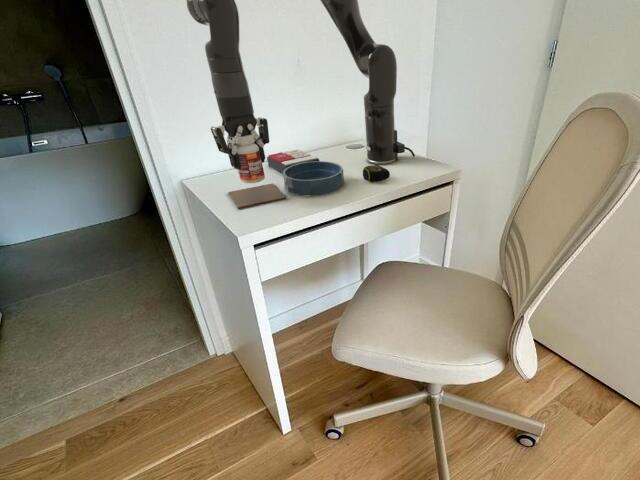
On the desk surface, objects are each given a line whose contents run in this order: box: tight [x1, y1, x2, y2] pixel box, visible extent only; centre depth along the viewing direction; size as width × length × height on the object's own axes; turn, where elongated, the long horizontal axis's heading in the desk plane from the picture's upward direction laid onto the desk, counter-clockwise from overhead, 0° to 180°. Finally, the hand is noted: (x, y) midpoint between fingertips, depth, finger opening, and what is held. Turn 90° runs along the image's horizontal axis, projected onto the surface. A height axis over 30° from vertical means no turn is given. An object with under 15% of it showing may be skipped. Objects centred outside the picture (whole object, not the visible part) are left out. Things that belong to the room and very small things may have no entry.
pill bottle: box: [232, 134, 266, 184], centre depth 98 cm, size 6×6×11 cm
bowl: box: [282, 160, 345, 197], centre depth 108 cm, size 16×16×4 cm
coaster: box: [227, 182, 287, 210], centre depth 103 cm, size 12×12×1 cm
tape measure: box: [362, 164, 391, 183], centre depth 112 cm, size 7×7×4 cm
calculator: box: [266, 149, 320, 175], centre depth 121 cm, size 11×4×15 cm
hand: (249, 165), depth 99 cm, fingers closed on pill bottle, 6 cm apart
